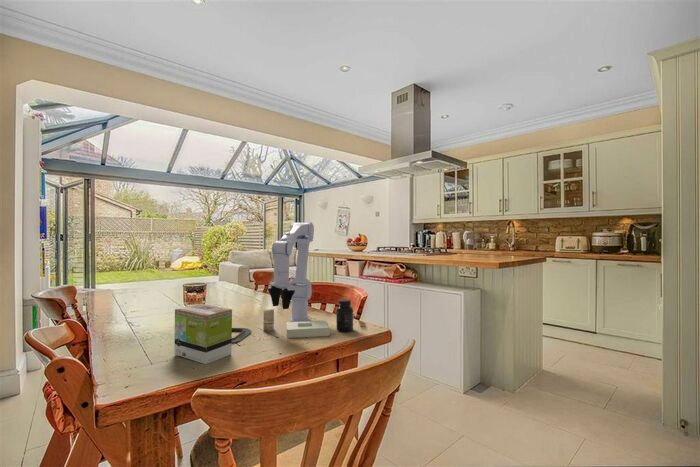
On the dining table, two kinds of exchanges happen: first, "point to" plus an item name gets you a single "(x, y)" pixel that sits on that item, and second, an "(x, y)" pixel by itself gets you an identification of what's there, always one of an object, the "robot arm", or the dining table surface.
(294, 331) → the board
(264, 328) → the peg
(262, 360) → the dining table surface
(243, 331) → the c clamp
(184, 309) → the tea box
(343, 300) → the supplement bottle
